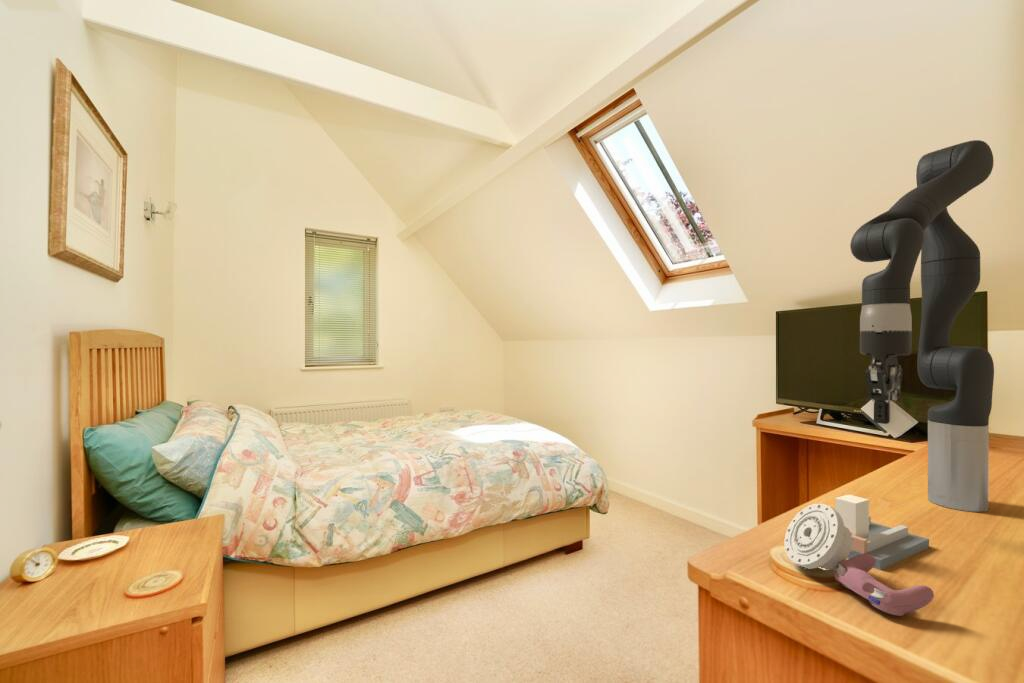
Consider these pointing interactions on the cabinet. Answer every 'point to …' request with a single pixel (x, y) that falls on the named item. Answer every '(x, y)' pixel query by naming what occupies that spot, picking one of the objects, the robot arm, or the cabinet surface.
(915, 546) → the rail mount
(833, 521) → the mechanical component
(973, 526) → the cabinet surface
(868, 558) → the pink curved lobed piece
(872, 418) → the cream block
